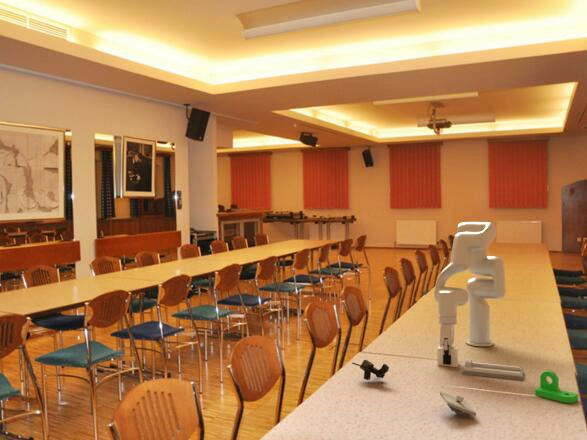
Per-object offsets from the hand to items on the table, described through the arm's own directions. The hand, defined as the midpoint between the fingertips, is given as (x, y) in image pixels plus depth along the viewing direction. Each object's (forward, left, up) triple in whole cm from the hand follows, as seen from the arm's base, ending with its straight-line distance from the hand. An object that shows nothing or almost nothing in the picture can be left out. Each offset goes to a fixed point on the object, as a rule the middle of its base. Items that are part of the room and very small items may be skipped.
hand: (447, 361), depth 220 cm
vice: (+34, -19, +1) cm, 39 cm away
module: (0, 0, -1) cm, 1 cm away
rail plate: (+6, +18, -1) cm, 19 cm away
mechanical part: (+25, +40, -2) cm, 47 cm away
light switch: (+48, +6, -1) cm, 48 cm away
